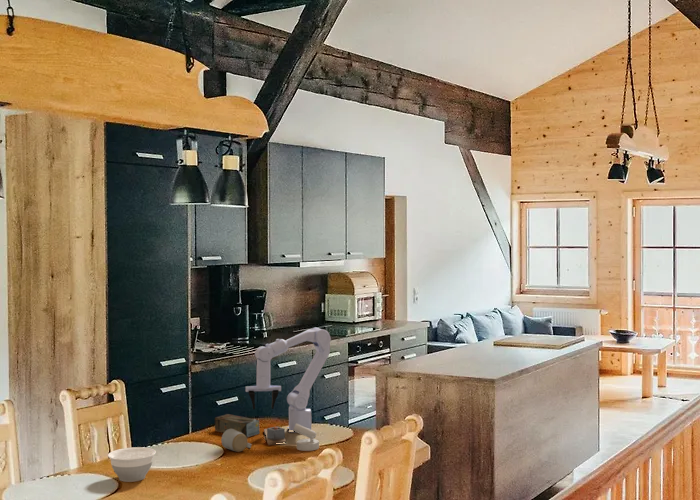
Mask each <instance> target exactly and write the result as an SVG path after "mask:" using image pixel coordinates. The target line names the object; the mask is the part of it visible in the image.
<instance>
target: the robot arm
mask: <svg viewBox="0 0 700 500" xmlns="http://www.w3.org/2000/svg"><path fill="white" fill-rule="evenodd" d="M331 340H332V337H331V335H330V333H329V331H328V330H326V329H323V328H319V327H312V328H309V329H306V330H305V331H302V332H300V333H298V334H296V335H294V336H292V337H289V338H288V339H286V340H285V339H283V338H276V339H275V341H274V342H270V343H266V344H265V346H263V345H262V346H261V345H260V346H259V347H257V349H255V352H254V356H255V358H256V385H250V386H248V385H247V386H245V392H246V393H248V395H249V398H250V400H251V404H252V410H255V409H256V401H255V399H256V396H255V395H256V394H255V392H271V409H272V410H274V409H275V403H276V399H277V398H278V396H279V393H280V392H282V385H273V384H271V368H272V367H271V360H272V359H273V358H275V357H277V356H279V355H282V354H284V353H287V351H288V349H289V348H291V347H294V346H298V345H299V344H302V343H305V342H311V343H312V344H313V346H314V348H315V354H314V355H313V357H312V359H311V361H310V363H309V365H308V366H307V368H306V370H305V372H304V374H303V376H302V378H301V379H300V381H299V383H298V384H297V385H296V386H294V387H293V389H292V391H291V392H289V393H288V395H287V396H286V402H287V404H288V405H289V406H288V426H287V427H286V428H289V430H293V429H294V427H295V424H296V423H297V424H299V425H301V426H304V427H306V428H308V429H310V430H312V410H311V408H307V406H308V403H309V402H308V401H309V398H310V396H311V395H310V393H311V392H310V391H311V389H312V387H313V384H314V383H315V382H316V379H317V377H318V375H319V373H320V372H321V370H322V368H323V366H324V365H325V363H326V361H327V359H328V357H329V355H330V353H331V352H330V351H331Z"/></svg>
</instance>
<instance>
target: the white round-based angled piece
mask: <svg viewBox="0 0 700 500" xmlns="http://www.w3.org/2000/svg"><path fill="white" fill-rule="evenodd" d="M293 431H295V432H294V433H298V434H300V435H302V436H304V437H306V438H301V439H300V438H299V439H298V440H296V449H297V450H299V451H304V452H305V451H306V452H310V451H316V450H318V449H320V440H318V439H316V436H317V432H316V431H315V430H313V429H311V430H310V429H308V428H306V427H304V426H301V425H299V424H297V423H296V424H295V427H294V429H293Z"/></svg>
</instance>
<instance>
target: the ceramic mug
mask: <svg viewBox="0 0 700 500" xmlns="http://www.w3.org/2000/svg"><path fill="white" fill-rule="evenodd" d="M222 433H223V432H222ZM220 442H221V445H222V447H224V448H225V449H227V450H230V451H233V452H239V453H240V452H243V451H244V450H245V449H247V448H248V449H251V447H252V443H250V442H249V441H248V437H246V436H245V435H244V434H243V433H241V432H239V431H236V430H234V429H228V430H226V431H225V432H224V433H223V434H222V435H221V441H220Z"/></svg>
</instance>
